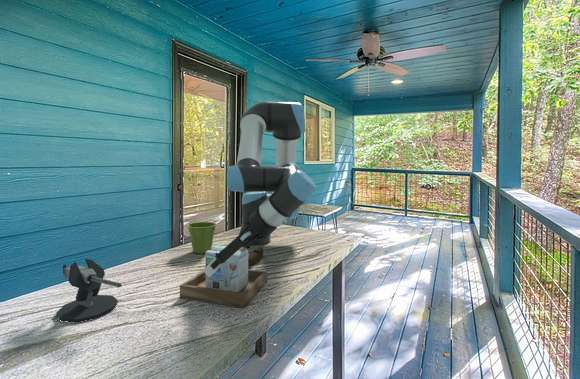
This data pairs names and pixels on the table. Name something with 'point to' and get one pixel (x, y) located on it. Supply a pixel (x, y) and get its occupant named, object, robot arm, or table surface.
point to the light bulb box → (229, 271)
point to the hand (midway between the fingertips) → (218, 265)
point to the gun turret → (87, 293)
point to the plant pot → (201, 236)
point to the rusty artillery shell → (255, 256)
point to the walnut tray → (199, 292)
